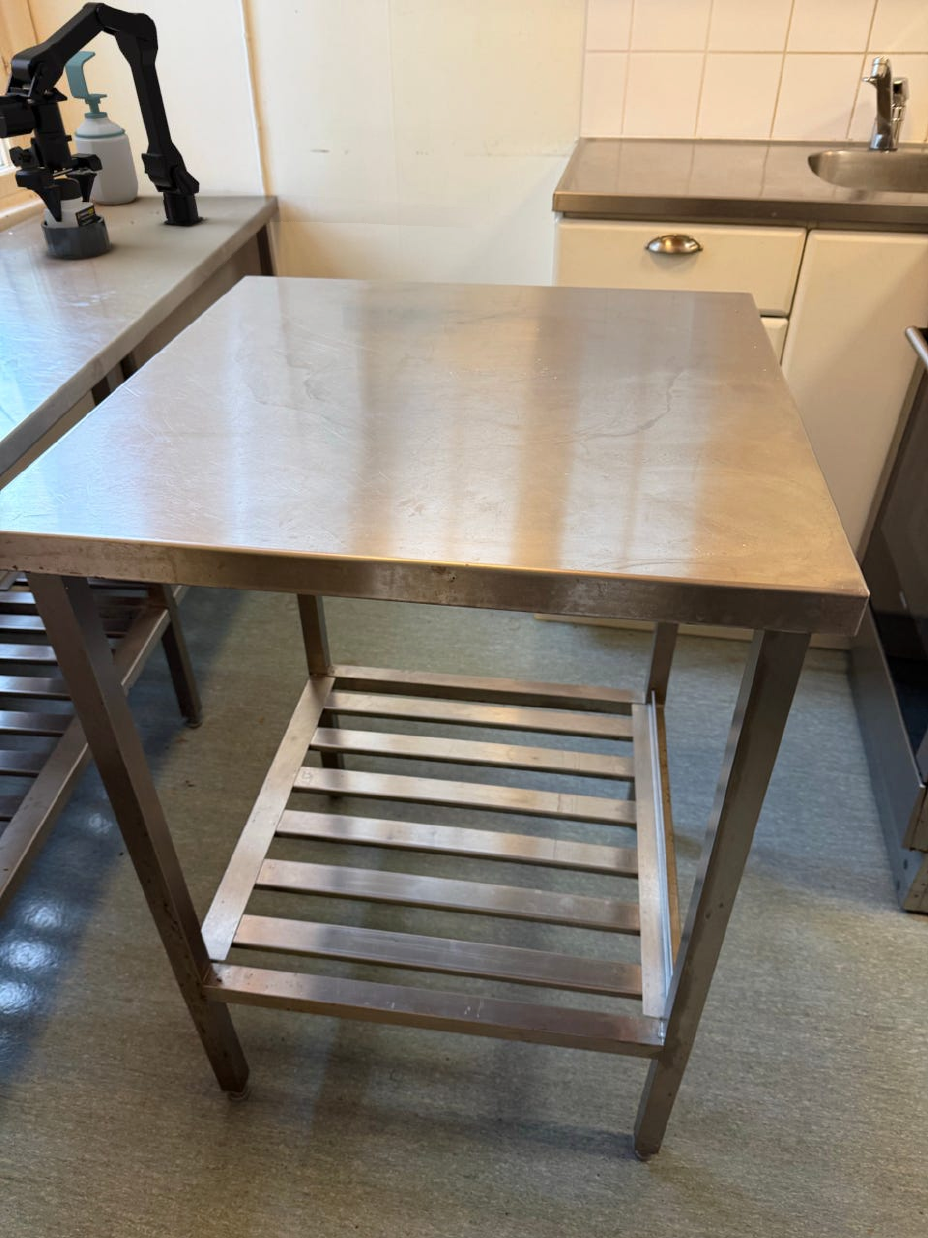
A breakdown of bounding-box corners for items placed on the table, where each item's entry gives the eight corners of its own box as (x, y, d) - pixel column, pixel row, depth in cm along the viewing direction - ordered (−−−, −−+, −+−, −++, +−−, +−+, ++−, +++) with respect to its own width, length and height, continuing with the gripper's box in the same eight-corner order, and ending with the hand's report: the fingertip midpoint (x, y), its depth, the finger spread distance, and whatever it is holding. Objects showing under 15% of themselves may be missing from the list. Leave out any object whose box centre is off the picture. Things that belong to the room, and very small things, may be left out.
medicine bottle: (84, 248, 181) (68, 183, 174) (53, 246, 182) (35, 182, 175) (102, 238, 186) (87, 175, 179) (71, 237, 188) (55, 174, 180)
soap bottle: (152, 197, 223) (121, 50, 204) (116, 208, 214) (80, 55, 195) (115, 193, 227) (81, 48, 208) (78, 203, 219) (40, 53, 200)
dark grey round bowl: (123, 245, 188) (116, 215, 184) (85, 261, 179) (77, 230, 175) (76, 241, 191) (68, 211, 188) (36, 256, 182) (27, 225, 179)
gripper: (48, 120, 181) (70, 203, 190) (-20, 136, 167) (7, 225, 176) (93, 122, 178) (113, 207, 187) (28, 139, 164) (53, 229, 173)
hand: (72, 216), depth 181 cm, fingers closed on medicine bottle, 7 cm apart
